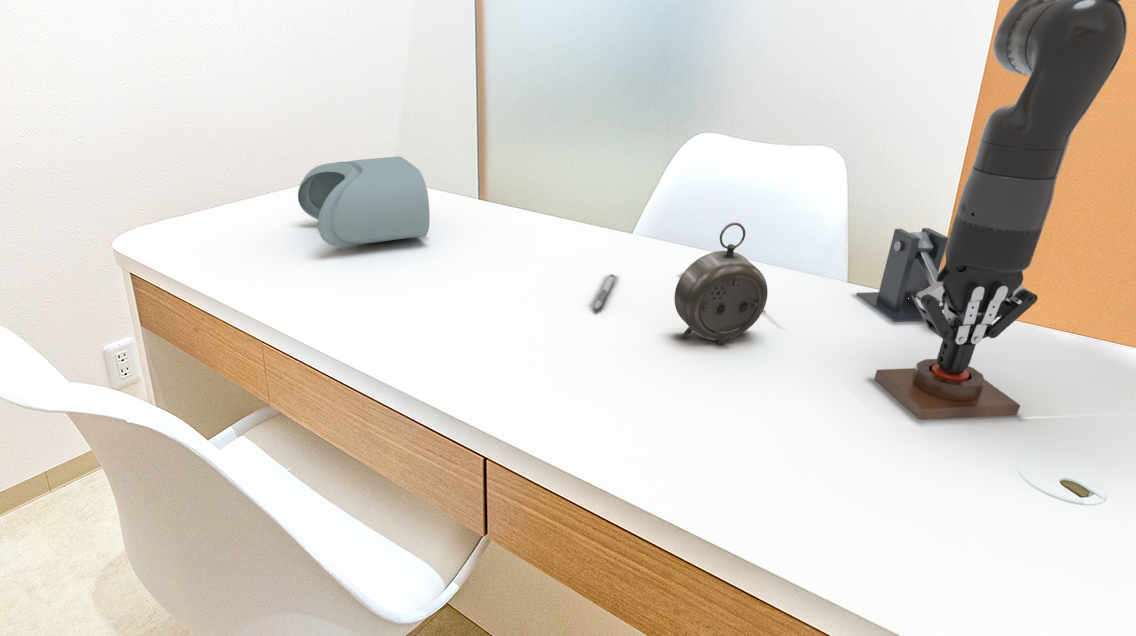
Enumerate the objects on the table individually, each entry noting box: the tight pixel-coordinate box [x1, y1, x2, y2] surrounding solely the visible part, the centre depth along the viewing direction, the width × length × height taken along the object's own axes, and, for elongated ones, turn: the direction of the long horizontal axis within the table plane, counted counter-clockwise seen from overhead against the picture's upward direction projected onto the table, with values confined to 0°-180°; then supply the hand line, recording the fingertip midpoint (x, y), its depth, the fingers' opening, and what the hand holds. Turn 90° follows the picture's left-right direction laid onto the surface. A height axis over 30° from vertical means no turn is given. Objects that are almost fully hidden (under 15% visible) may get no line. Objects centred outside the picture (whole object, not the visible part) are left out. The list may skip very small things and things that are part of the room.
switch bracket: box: [856, 227, 949, 323], centre depth 105 cm, size 10×8×12 cm
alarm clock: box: [674, 222, 768, 347], centre depth 94 cm, size 11×5×16 cm, turn 100°
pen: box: [594, 274, 615, 310], centre depth 112 cm, size 1×14×1 cm, turn 162°
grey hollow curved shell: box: [297, 156, 431, 248], centre depth 134 cm, size 22×19×13 cm
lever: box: [910, 231, 945, 311], centre depth 100 cm, size 12×3×3 cm, turn 4°
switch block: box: [873, 358, 1021, 421], centre depth 83 cm, size 11×9×4 cm
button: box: [931, 364, 969, 382], centre depth 83 cm, size 4×4×2 cm
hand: (950, 370), depth 82 cm, fingers closed
